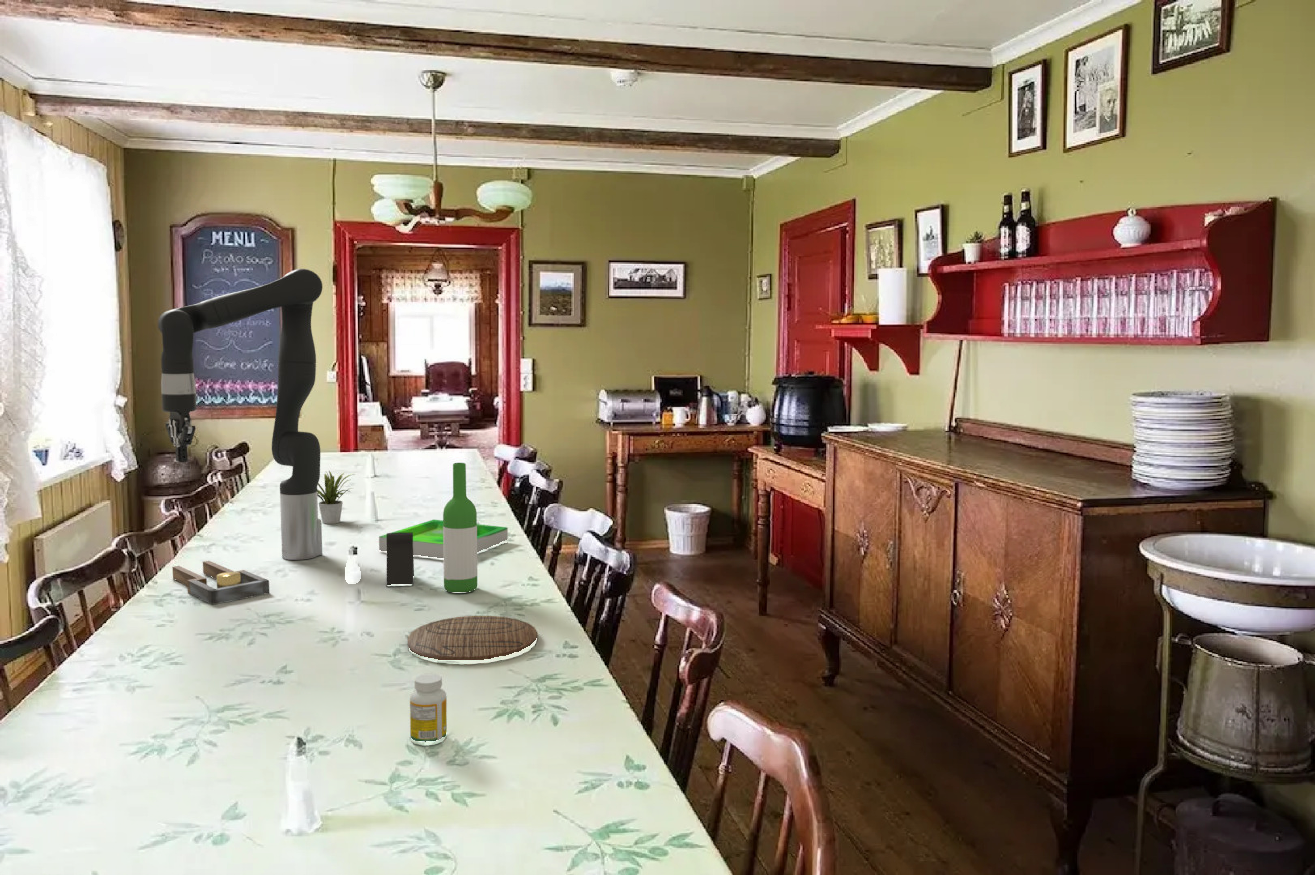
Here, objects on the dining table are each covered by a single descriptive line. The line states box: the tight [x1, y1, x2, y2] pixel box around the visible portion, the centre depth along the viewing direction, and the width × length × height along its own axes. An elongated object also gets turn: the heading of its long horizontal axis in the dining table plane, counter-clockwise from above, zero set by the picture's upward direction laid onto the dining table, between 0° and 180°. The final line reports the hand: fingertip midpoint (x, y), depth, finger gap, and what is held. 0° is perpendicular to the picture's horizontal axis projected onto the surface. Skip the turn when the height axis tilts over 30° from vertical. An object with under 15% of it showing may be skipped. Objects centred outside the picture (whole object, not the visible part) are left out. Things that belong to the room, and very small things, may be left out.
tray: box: [378, 519, 509, 558], centre depth 265 cm, size 25×25×5 cm
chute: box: [171, 560, 270, 606], centre depth 224 cm, size 13×28×3 cm, turn 47°
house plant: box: [317, 470, 356, 525], centre depth 295 cm, size 14×14×16 cm
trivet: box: [407, 615, 538, 660], centre depth 188 cm, size 25×25×2 cm
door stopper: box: [386, 532, 415, 586], centre depth 230 cm, size 9×6×12 cm, turn 11°
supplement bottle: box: [409, 673, 448, 742], centre depth 144 cm, size 5×5×10 cm
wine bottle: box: [442, 462, 478, 593], centre depth 222 cm, size 8×8×30 cm
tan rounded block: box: [216, 571, 241, 589], centre depth 218 cm, size 5×5×4 cm
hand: (181, 461), depth 237 cm, fingers closed
